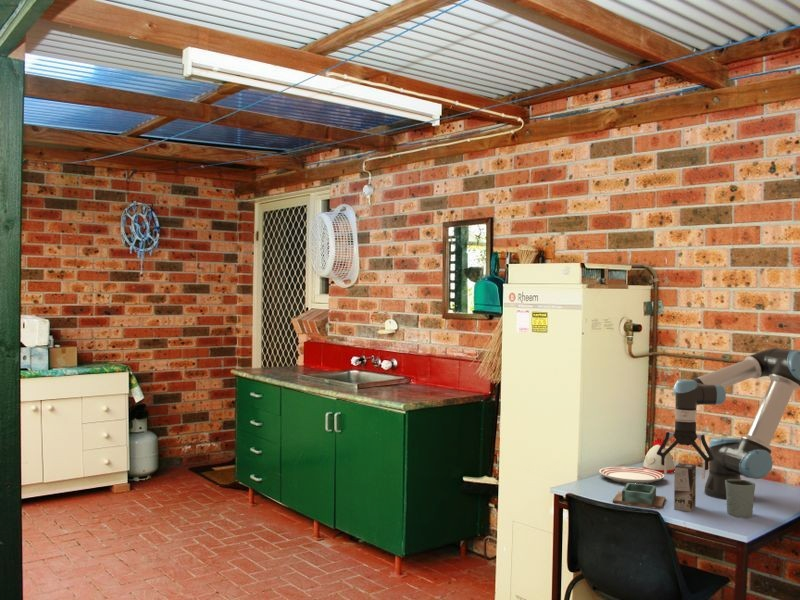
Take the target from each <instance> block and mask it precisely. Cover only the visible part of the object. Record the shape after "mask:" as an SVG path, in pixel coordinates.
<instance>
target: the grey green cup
mask: <svg viewBox="0 0 800 600" xmlns="http://www.w3.org/2000/svg"><path fill="white" fill-rule="evenodd" d="M725 486H726V499H725V500H726V502H725V503H726V513H727V515H729V516H730V517H735V518H742V519H749V518H752V517H753V513H754V510H753V508H754V503H755V502H754V500H755V499H754V498H755V490H756V482H754V481H750V480H746V479H745V480H744V479H741V480H739V479H728V480H725Z"/></svg>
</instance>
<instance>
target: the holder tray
mask: <svg viewBox="0 0 800 600" xmlns="http://www.w3.org/2000/svg"><path fill="white" fill-rule="evenodd" d="M665 501H666V496H664V495H662V496H661V495H657V486H656V485H650V484H634V483H625V486H624V487H623V489H622V490H621V491H619V490H618V492H617V493H616V495H615V496H614V498H613V499H612V504H619V503H621V504H620V505H627V504H631V505H630V506H635V505H640V506H639V507H643V506H646V508H652V507H655V508H654V509H660V508H661V509H662V507H663V506H664V504H665ZM663 503H664V504H663ZM662 505H663V506H662Z"/></svg>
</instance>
